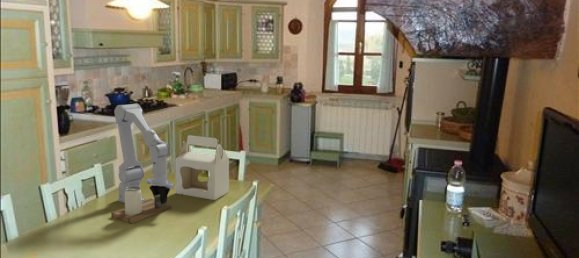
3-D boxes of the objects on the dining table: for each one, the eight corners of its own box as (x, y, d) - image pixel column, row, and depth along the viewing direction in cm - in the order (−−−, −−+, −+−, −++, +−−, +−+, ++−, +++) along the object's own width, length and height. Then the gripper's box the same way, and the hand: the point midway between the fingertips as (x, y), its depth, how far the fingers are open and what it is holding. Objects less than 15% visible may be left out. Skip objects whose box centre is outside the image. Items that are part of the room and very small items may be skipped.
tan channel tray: (111, 217, 183) (110, 200, 182) (150, 202, 201) (150, 187, 200) (132, 223, 177) (131, 206, 176) (170, 208, 195) (170, 192, 194)
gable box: (229, 192, 220) (229, 136, 215) (215, 200, 208) (215, 141, 203) (190, 186, 228) (190, 132, 223) (175, 193, 216) (174, 136, 211)
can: (136, 220, 181) (135, 192, 179) (122, 218, 183) (121, 190, 181) (145, 214, 187) (144, 187, 185) (131, 213, 189) (130, 185, 187)
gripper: (140, 170, 189) (141, 201, 192) (165, 176, 182) (166, 208, 184) (153, 167, 195) (153, 197, 198) (177, 172, 188) (178, 203, 191)
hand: (160, 202), depth 191 cm, fingers open, 3 cm apart
